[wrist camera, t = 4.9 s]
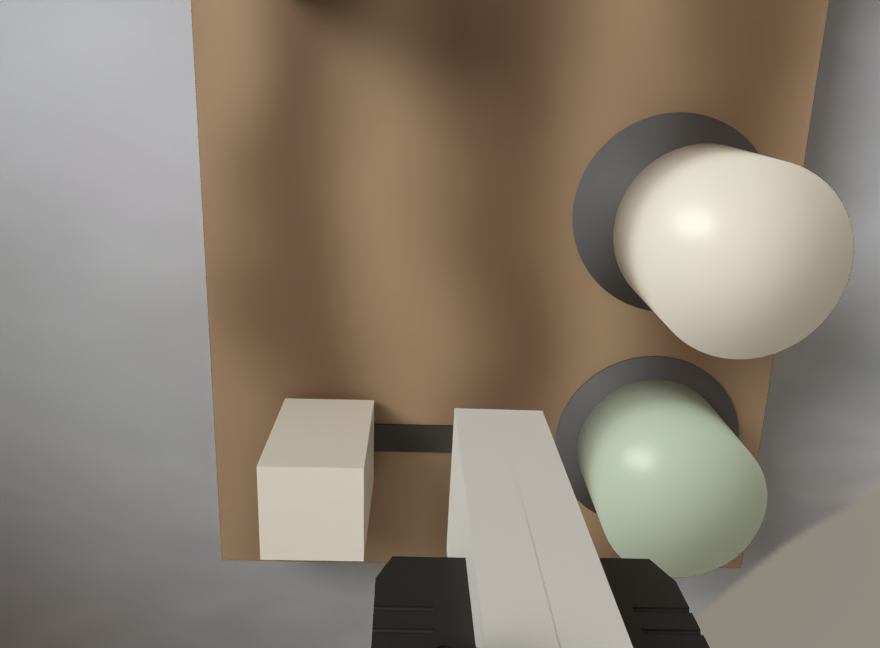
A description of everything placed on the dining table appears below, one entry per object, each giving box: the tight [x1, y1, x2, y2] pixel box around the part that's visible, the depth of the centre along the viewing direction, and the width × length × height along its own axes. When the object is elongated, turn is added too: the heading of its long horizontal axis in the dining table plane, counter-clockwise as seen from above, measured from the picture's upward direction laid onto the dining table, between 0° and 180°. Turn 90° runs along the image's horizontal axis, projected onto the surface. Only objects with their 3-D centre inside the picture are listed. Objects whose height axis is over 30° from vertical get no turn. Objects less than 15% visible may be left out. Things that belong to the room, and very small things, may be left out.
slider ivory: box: [257, 398, 374, 561], centre depth 26 cm, size 3×3×5 cm
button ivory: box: [613, 143, 854, 359], centre depth 22 cm, size 5×5×4 cm
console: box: [191, 0, 829, 568], centre depth 29 cm, size 19×26×4 cm
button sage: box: [577, 380, 767, 578], centre depth 27 cm, size 5×5×4 cm
